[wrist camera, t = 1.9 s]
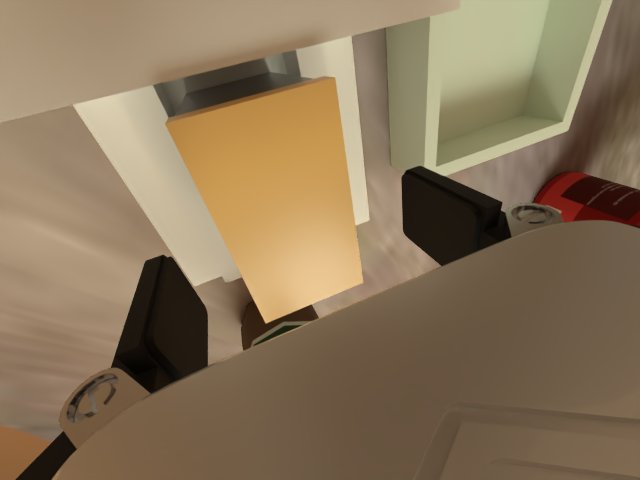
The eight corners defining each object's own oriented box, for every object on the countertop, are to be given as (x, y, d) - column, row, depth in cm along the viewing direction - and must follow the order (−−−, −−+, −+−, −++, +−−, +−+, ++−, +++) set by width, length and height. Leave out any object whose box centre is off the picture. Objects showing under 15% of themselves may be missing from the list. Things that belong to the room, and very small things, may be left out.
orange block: (183, 92, 16) (164, 123, 8) (271, 69, 16) (335, 77, 9) (241, 224, 21) (265, 323, 13) (305, 202, 22) (363, 282, 14)
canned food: (538, 234, 38) (637, 285, 30) (518, 211, 34) (627, 263, 25) (583, 188, 36) (704, 228, 28) (568, 157, 32) (705, 193, 23)
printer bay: (-28, -62, 11) (-554, -341, 3) (328, -113, 14) (490, -335, 6) (194, 278, 23) (190, 391, 15) (364, 215, 26) (435, 283, 18)
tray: (380, -120, 15) (437, -178, 11) (581, -149, 17) (681, -205, 13) (390, 165, 24) (423, 183, 20) (518, 121, 26) (568, 130, 23)
